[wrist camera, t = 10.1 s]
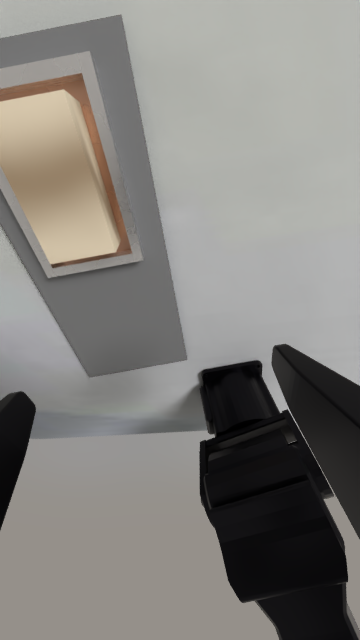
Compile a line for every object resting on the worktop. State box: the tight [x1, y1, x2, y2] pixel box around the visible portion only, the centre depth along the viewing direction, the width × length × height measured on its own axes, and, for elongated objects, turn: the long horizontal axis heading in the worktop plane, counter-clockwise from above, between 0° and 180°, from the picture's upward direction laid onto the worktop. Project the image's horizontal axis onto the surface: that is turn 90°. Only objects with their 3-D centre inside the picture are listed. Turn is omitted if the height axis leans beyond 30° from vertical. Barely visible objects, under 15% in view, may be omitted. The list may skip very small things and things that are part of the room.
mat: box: [0, 15, 187, 377], centre depth 17 cm, size 10×22×1 cm, turn 9°
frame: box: [0, 51, 144, 278], centre depth 13 cm, size 7×10×1 cm
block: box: [0, 89, 121, 264], centre depth 13 cm, size 7×4×2 cm, turn 9°
